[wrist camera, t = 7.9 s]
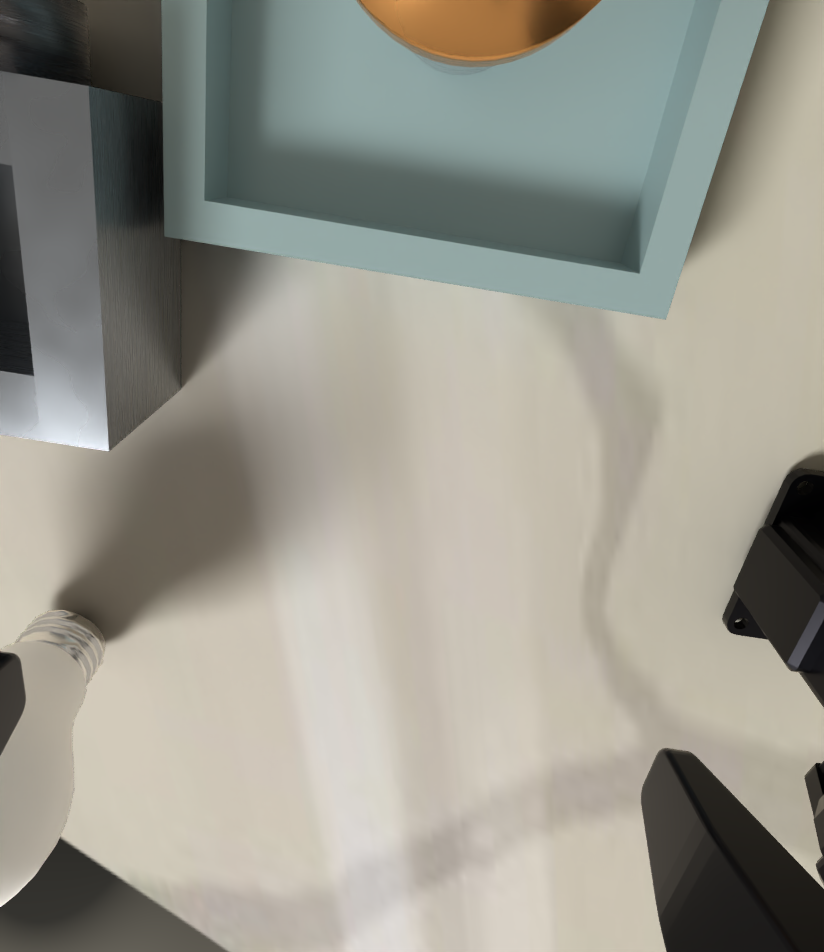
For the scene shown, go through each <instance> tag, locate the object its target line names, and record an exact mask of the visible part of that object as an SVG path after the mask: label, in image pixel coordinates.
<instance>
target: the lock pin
mask: <svg viewBox="0 0 824 952" xmlns="http://www.w3.org/2000/svg"><path fill="white" fill-rule="evenodd" d="M356 1H357V3H358V4H359V5H360V7H361V8H362V10H363V11H364V12H365V13H366V14H367V15H368V16H369V17H370V19H371V20H372V21H373V22H374V23H375V24H376V25H377V26H378V27H379V28H380V29H381V30H382V31H384V32H385V33H386V34H387V35H388V36H390V37H391V38H392V39H393V40H394V41H396V42H397V43H399V44H401V45H402V46H404V47H405V48H407V49H409V50H410V51H412V52H413V54H414V55H415V56H416V57H417V58H419V59H420V60H421V61H422V62H423V63H425V64H426V65H428V66H429V67H431V68H433V69H435V70H437V71H440V72H443V73H447V74H450V75H472V74H476V73H480V72H483V71H486V70H488V69H490V68H492V67H494V66H496V65H500V64H505V63H510V62H513V61H516V60H519V59H521V58H524V57H527V56H530V55H532V54H534V53H536V52H538V51H539V50H541V49H543V48H545V47H547V46H549V45H550V44H552V43H553V42H555V41H556V40H558V39H559V38H560V37H562V36H563V35H565V34H566V33H567V32H569V31H570V30H571V29H572V28H573V27H574V26H575V25H576V24H577V23H578V22H580V21H581V20H582V19H583V18H584V17H585V16H586V15H587V14H588V13H589V12H590V11H591V10H592V9H593V8H594V7H595V6H596V5H597V4H598V3H599V2H600V1H601V0H356Z"/></svg>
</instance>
